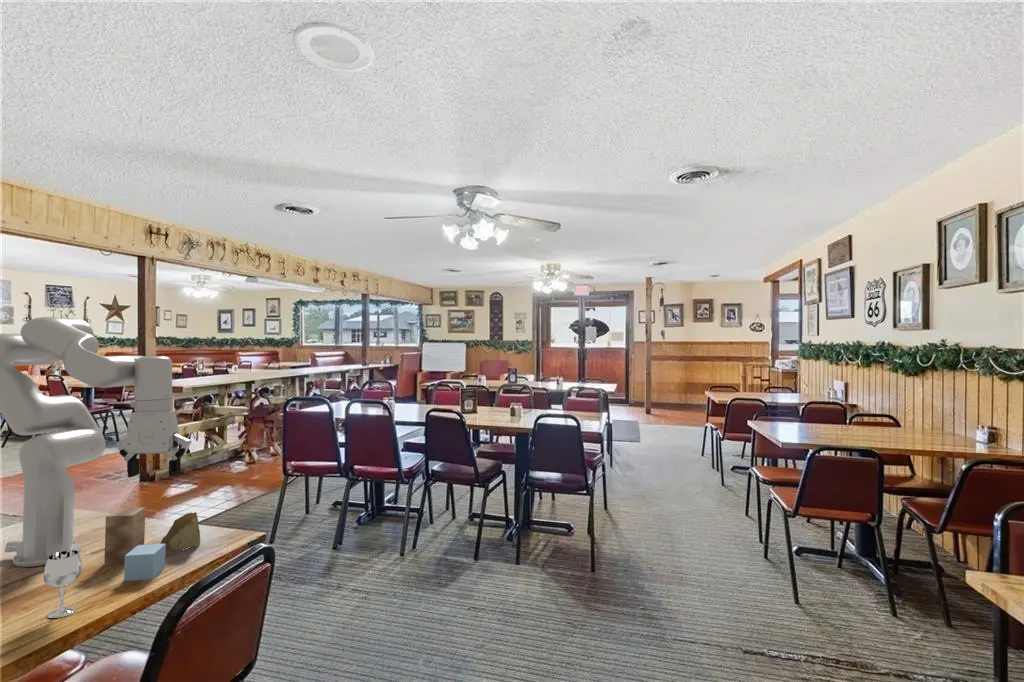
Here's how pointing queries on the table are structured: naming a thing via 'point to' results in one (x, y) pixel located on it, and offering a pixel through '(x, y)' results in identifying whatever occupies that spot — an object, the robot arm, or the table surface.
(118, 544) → the tower base
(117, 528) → the tower mid
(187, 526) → the rock
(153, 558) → the blue block
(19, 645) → the table surface
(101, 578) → the table surface
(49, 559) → the wineglass
